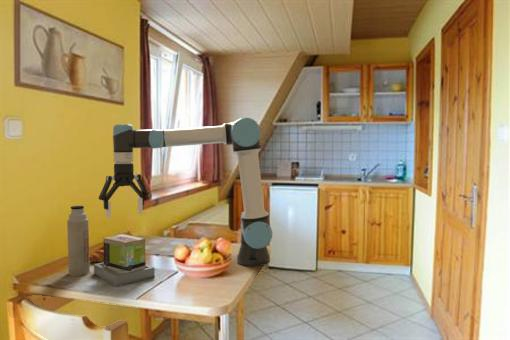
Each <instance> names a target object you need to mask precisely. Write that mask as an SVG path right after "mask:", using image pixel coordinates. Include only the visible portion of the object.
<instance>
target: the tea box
mask: <svg viewBox="0 0 510 340" xmlns="http://www.w3.org/2000/svg"><path fill="white" fill-rule="evenodd" d="M103 246H104V267H105V268H107V269H109V270H110V271H112V272H114V273H116V274H118V275H119V274H124V273H128V272H132V271H136V270H141V269H145V268H146V264H147V263H146V259H147V258H146V238H145V237H139V236H135V235H129V234H125V233H123V234H117V235H112V236H107V237H103Z"/></svg>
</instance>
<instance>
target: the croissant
mask: <svg viewBox="0 0 510 340" xmlns="http://www.w3.org/2000/svg"><path fill="white" fill-rule="evenodd" d="M89 262H92V263H94V262H95V263H102V262H104V245H102V246H101V247H99V249H98V250H96V251H94V253H93V254H91V255H89Z"/></svg>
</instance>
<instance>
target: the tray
mask: <svg viewBox="0 0 510 340" xmlns="http://www.w3.org/2000/svg"><path fill="white" fill-rule="evenodd" d="M155 269H156V268H155V267H154V266H153V265H149V264H147V263H146V268H145V269H141V270H136V271H132V272H128V273H124V274H119V275H118V274H116V273H114V272H112V271H110V270H109V269H107V268H105V267H104V262H97V263H94V264H93V274H94V275H95V274H96V275H95V276H98V277H99V278H100V277H101V278H100V279H102V278H103V279H102V280H103V281H105V280H106V282H107V281H108V282H107V283H109V284H110V283H111V285H112V286H113V287H115V286H116V288H118V287H117V286H119V287H122V286H121V285H123V286H127V285H130V284H134V283H137V282H141V281H146V280H148V279H153V278H155V277H156V276H155V274H156V273H155V271H156V270H155ZM126 284H127V285H126Z"/></svg>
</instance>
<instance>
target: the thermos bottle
mask: <svg viewBox="0 0 510 340" xmlns="http://www.w3.org/2000/svg"><path fill="white" fill-rule="evenodd" d="M84 207H85V206H84V205H72V206H70V209H71V210H70V211H71V212H70V214H69V215H68V220H67V221H66V224H67V225H66V226H67V229H66V230H67V252H68V253H67V255H68V257H67V258H68V259H67V260H68V262H67V263H68V264H67V265H68V275H69V276H72V277H76V276H77V277H80V276H84V275H87V274H89V273H90V270H91V269H90V265H91V264H90V261H89V257H90V231H89V230H90V229H89V227H90V226H89V219H88V218H87V213H86V212H85V208H84Z"/></svg>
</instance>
